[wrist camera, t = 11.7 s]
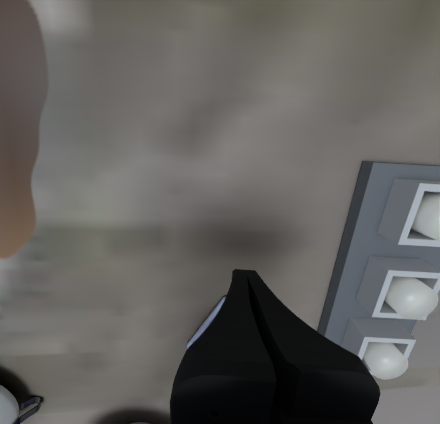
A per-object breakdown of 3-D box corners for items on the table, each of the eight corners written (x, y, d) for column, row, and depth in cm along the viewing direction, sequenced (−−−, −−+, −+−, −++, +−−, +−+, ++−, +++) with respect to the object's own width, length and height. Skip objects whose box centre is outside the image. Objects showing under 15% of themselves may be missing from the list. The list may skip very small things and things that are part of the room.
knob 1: (367, 352, 25) (389, 384, 22) (345, 340, 24) (364, 370, 21) (389, 333, 24) (415, 363, 21) (366, 320, 24) (390, 349, 20)
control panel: (388, 351, 27) (415, 385, 23) (313, 347, 27) (328, 381, 23) (465, 167, 20) (523, 172, 16) (362, 161, 20) (396, 164, 16)
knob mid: (387, 298, 23) (415, 325, 19) (363, 284, 22) (388, 308, 19) (412, 275, 22) (446, 298, 18) (388, 259, 21) (419, 280, 18)
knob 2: (411, 232, 20) (449, 249, 17) (385, 213, 20) (419, 227, 16) (441, 202, 19) (487, 214, 16) (415, 182, 19) (457, 190, 15)
